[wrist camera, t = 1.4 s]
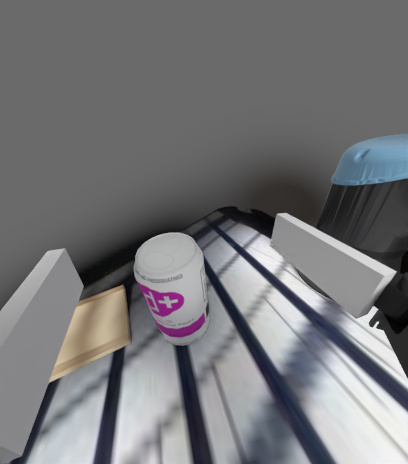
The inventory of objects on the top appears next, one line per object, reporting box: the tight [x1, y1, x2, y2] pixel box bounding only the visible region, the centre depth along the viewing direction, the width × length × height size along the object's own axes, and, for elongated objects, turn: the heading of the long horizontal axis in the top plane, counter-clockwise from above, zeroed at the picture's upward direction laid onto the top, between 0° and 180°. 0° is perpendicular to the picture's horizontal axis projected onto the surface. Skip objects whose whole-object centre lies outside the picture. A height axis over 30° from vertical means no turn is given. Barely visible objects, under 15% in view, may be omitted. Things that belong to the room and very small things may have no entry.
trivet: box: [49, 285, 131, 383], centre depth 28 cm, size 11×11×1 cm
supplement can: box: [134, 233, 210, 346], centre depth 24 cm, size 8×8×15 cm
